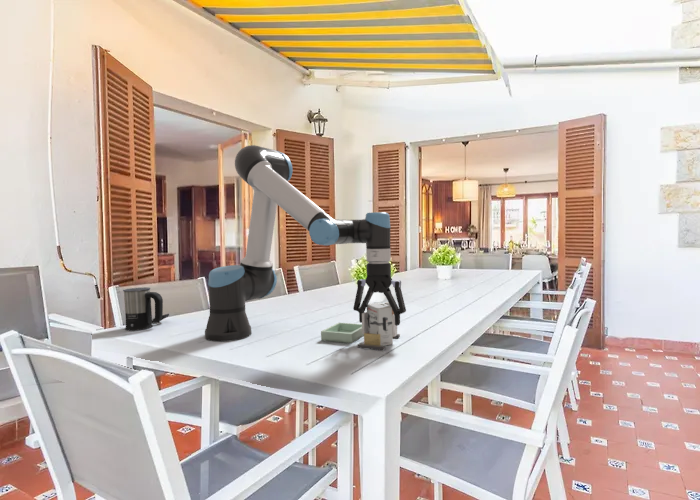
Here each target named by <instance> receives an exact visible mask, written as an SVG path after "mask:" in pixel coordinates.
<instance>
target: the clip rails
mask: <svg viewBox="0 0 700 500" xmlns="http://www.w3.org/2000/svg"><path fill="white" fill-rule="evenodd" d="M393 339H395V338H394V337H393ZM363 341H364V342H363V344H370V345H381V336H380V334H371V333H364V336H363Z"/></svg>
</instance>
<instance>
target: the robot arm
mask: <svg viewBox="0 0 700 500" xmlns="http://www.w3.org/2000/svg"><path fill="white" fill-rule="evenodd" d="M234 158H235V159H234V168H235V171H236V174H238V176H239V178H241V179H242V180H243V181H244V182H245V183H246V184H247V185H248V186H250V187H251V188H252V190H253V198H252V203H251V204H252V205H251V213H250V221H249V226H248V227H249V228H248V235H247V236H248V237H247V242H246V243H247V244H246V249H245V256H244V257H243V258H242V259H240V262H239V265H238V264H233V265H226V266H225V265H224V266H220V267H216V268H215V267H214V269H212V270H210V271H209V274H208V282H207V285H208V300H209V305H208V306H209V316H208V318H207V319H208V320H207V325H206V328H205V329H204V339H205V340H208V341H213V342H227V341H228V342H229V341H235V340H236V341H237V340H242V339H245V338H247V337H250V336H251V335H252V326H251V325H250V321H249V318H248V315H247V311H246V302H248V301H252V300H257V299H258V300H259V299H262V298H265V297H268V296H270V295H271V294H272V293H273V292H274V290H275V288H276V286H277V284H278V283H277V282H278V277H277V274H276V272H275V269H273V267H274V264H273V263H272V261H271V259H270V257H271V249H272V244H273V235H274V229H275V228H274V227H275V223H276V222H275V221H276V216H277V215H276V214H277V209H278V208H277V207H278V206H279V207H280V209H282V210H283V211H284V212H286V213H287V214H288V215H289V216H290V217H292V218H293V219H294V220H295V221H296V222H297V223H298V224H299V225H301V226H302V227H303V228H304V229H305V230H306V231H308V235H309V236H310V239H311V241H312V242H313V243H314V244H316V245H318V246H325V247H326V246H333V245H344V244H345V245H346V244H365V248H366V249H365V250H366V253H365V255H366V259H365V260H366V262H367V263H366V278H364V279H362V278H361V279H357V280H356V282H357V283H356V284H357V289H356V294H355V299H354V303H353V304H354V305H353V311H356V312H358V314H359V315H358V318H359V320H358V321H359V324H362V334H364V333H367V311H366V310H367V304H370V303H369V302H370V301H371V299H372V297H373V295H374V293H380V294H383V296H385V298H386V300H387V302H389V304H390V306H391V307H392V310H393V312H394V314H393V315H392V337H395V336H396V335H397V334H398V326H400V325H401V314H405V313H406V312H407V308H406V305H405V300H404V296H403V293H402V292H403V291H402V287H401V286H402V281H401V280H394V279H392V264H391V262H390V261H391V259H392V257H391V251H392V250H391V228H392V227H391V218H390V217H391V216H390V214H389V213H388V212H385V211H381V212H377V211H376V212H367V213H366V214H365V218H363V219H339V218H338V219H335V218H333V217H332V216H331V215H329V214H328V213H326V212H325V210H323V209H322V208H321V207H319V206H318V205H317V204H316V203H315V202H314V201H312V200H311V199H310V198H309V197H307V196H306V195H305V194H303V192H301V191H300V190H299V189H297V188H296V187H295V186H293V184H291V183H290V182H289V181H290V180H291V178H292V175H293V171H294V169H293V163H292V162H291V159H290V158H289V156H288V155H286V154H285V153H284V152H281V151H279V150H275V149H272V148H268V147H264V146H263V147H262V146H259V145H255V144H252V145H246V146H244V147H242V148H241V149H240V150H239V151H238V152H237V153H236V156H235V157H234ZM366 285H367V287H368V289H367V290H366V291H367V292H366V293H365V296H364V295H363V293H364V289H365V286H366ZM391 286H392V288H394V293H395V297H396V300H395V298H394V296H393V294H392V291H391V288H390V287H391ZM363 296H364V298H363ZM362 299H363V301H362ZM396 301H397V302H396Z"/></svg>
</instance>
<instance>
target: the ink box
mask: <svg viewBox="0 0 700 500" xmlns="http://www.w3.org/2000/svg"><path fill="white" fill-rule="evenodd" d="M366 312H367V333H371V334H380V336H381V345H382V346H390V345H391V346H392V345H393V343H394V341H393V339H394V338H393V337H392V307H391V306H389V305H386V304H384V303H383V302H373V303H368V304H367V307H366Z"/></svg>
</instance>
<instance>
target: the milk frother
mask: <svg viewBox="0 0 700 500" xmlns="http://www.w3.org/2000/svg"><path fill="white" fill-rule="evenodd" d="M122 292H123V298H124V312H125V313H124V314H125V329H124V330H125V331H128V330H129V331H131V332H132V331H133V332H134V331H142V330H147V329H151V328H153V324H156V323H160V322H161V321H162V320H164V319H166V318H168V317H169V316H170V314H169V313H167V314H163V313H164V312H163V311H164V310H163V309H164V305H163V303H164V300H163V297H162V295H161V294H160V293H159V292H157V291H156V292H155V291H151V287H134V288H133V287H132V288H126V289H123V290H122ZM152 299H153V300H154V301H153V302H154V317H153V315H152V314H153V313H152Z"/></svg>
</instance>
